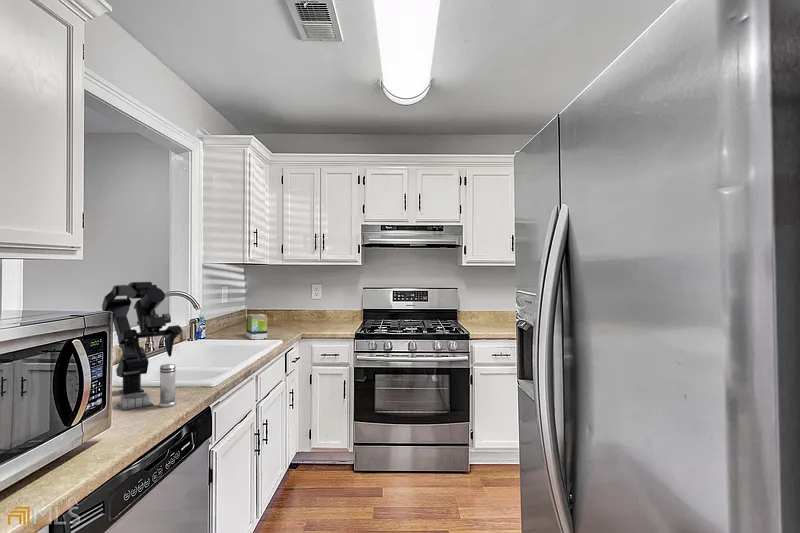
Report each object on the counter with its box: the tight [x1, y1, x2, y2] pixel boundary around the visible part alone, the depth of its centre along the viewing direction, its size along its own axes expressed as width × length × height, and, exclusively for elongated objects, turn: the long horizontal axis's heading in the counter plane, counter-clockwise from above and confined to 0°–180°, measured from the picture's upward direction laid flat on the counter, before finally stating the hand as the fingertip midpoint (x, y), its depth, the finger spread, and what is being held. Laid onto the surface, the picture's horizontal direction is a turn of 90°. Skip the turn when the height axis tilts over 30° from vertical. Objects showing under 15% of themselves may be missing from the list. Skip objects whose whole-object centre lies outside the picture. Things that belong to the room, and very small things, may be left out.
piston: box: [158, 363, 177, 408], centre depth 156 cm, size 5×5×13 cm
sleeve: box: [116, 392, 155, 412], centre depth 156 cm, size 9×9×3 cm
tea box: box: [245, 313, 268, 340], centre depth 304 cm, size 15×10×15 cm, turn 30°
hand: (156, 358), depth 159 cm, fingers open, 9 cm apart
